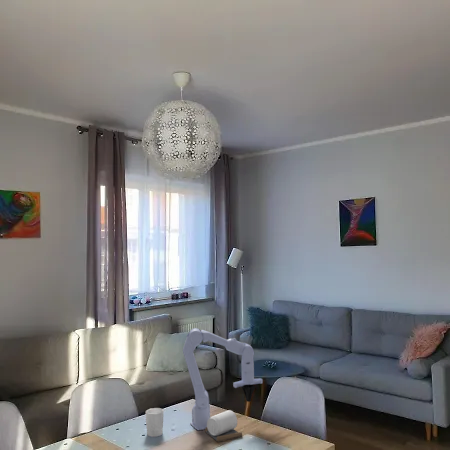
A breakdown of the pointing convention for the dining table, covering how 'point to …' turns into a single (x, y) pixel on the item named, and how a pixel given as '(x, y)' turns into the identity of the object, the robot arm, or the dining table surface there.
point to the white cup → (154, 422)
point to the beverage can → (222, 423)
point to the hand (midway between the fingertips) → (248, 401)
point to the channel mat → (225, 435)
